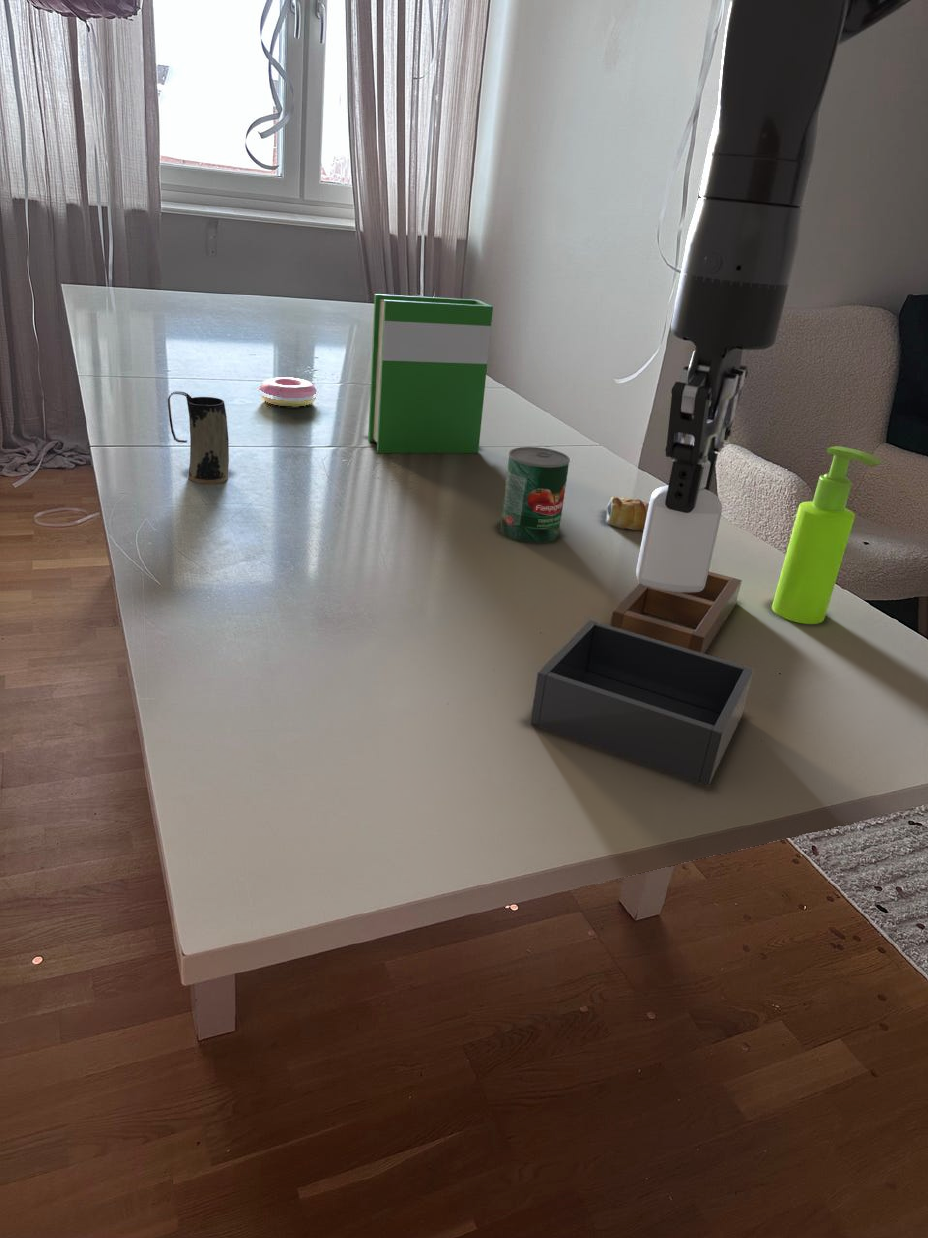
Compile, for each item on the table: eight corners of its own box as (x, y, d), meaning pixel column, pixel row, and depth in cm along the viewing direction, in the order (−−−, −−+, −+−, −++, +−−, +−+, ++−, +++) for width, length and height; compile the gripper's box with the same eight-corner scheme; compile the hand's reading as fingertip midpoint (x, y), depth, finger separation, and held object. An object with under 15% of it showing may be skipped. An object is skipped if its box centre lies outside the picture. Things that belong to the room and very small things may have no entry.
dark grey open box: (740, 721, 82) (754, 668, 79) (706, 792, 71) (722, 733, 69) (580, 670, 88) (589, 619, 85) (529, 728, 77) (537, 672, 75)
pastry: (666, 521, 130) (672, 496, 128) (673, 538, 124) (679, 512, 122) (602, 514, 130) (606, 489, 129) (606, 531, 124) (611, 505, 122)
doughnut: (326, 408, 172) (326, 386, 170) (271, 410, 166) (271, 388, 164) (303, 394, 180) (303, 373, 178) (250, 396, 174) (250, 375, 172)
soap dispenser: (816, 636, 100) (868, 461, 91) (761, 612, 104) (806, 444, 95) (840, 623, 103) (893, 454, 95) (786, 601, 108) (832, 438, 99)
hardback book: (377, 452, 148) (385, 300, 137) (368, 440, 154) (374, 293, 144) (478, 452, 154) (493, 306, 143) (464, 440, 160) (478, 299, 149)
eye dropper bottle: (690, 602, 71) (723, 456, 66) (626, 581, 74) (653, 439, 69) (710, 586, 74) (743, 446, 69) (649, 566, 77) (676, 430, 72)
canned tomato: (546, 551, 115) (558, 468, 110) (490, 537, 118) (499, 456, 113) (566, 533, 122) (578, 454, 117) (512, 520, 124) (522, 443, 120)
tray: (735, 607, 105) (742, 579, 103) (696, 668, 90) (704, 637, 89) (656, 585, 108) (661, 558, 107) (607, 640, 94) (612, 611, 92)
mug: (231, 472, 132) (229, 390, 126) (227, 484, 127) (225, 399, 122) (175, 470, 131) (171, 387, 125) (169, 481, 126) (164, 396, 120)
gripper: (769, 284, 56) (711, 539, 64) (804, 275, 68) (752, 492, 75) (655, 269, 59) (612, 514, 67) (707, 263, 71) (666, 472, 78)
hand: (686, 501), depth 71 cm, fingers closed on eye dropper bottle, 4 cm apart
